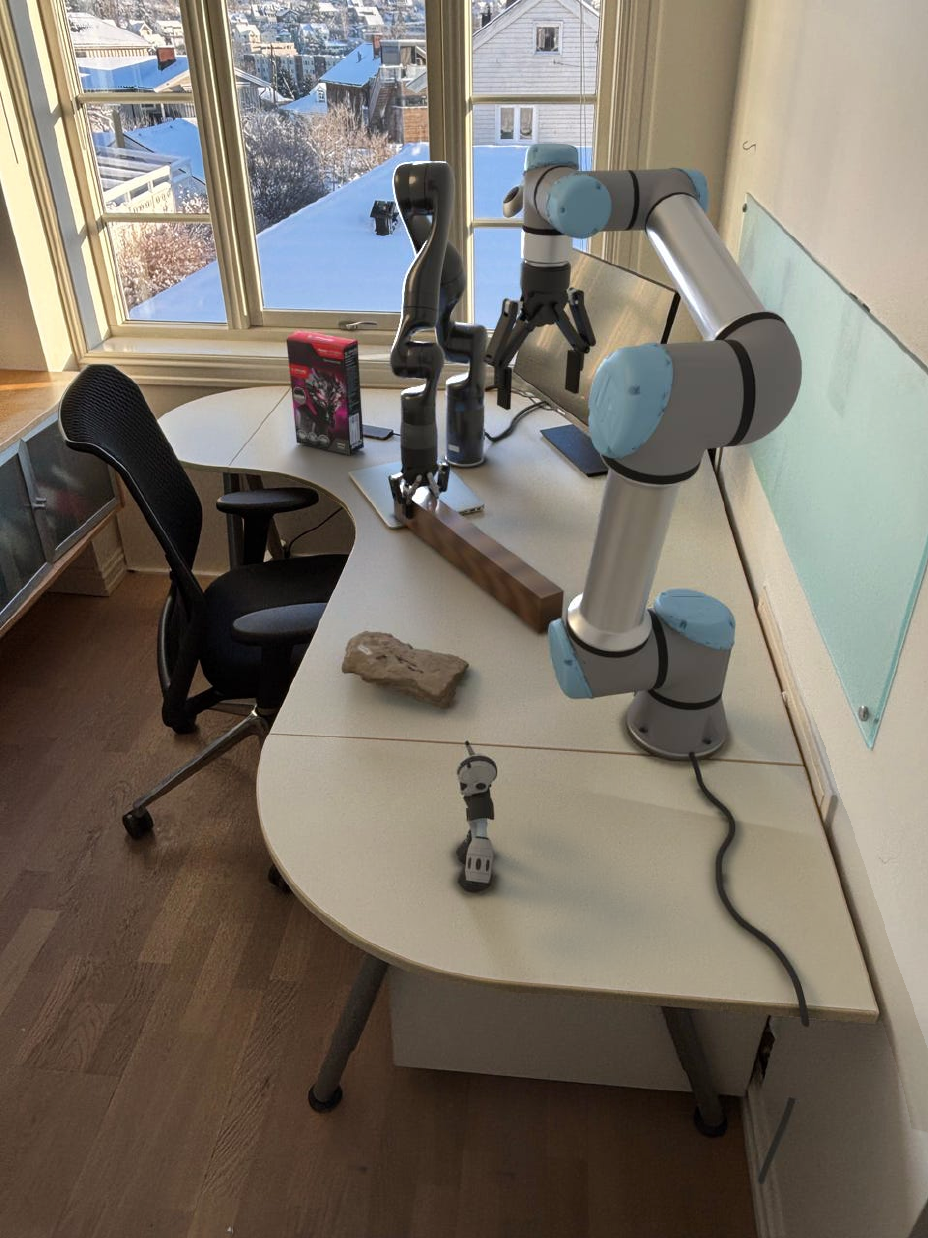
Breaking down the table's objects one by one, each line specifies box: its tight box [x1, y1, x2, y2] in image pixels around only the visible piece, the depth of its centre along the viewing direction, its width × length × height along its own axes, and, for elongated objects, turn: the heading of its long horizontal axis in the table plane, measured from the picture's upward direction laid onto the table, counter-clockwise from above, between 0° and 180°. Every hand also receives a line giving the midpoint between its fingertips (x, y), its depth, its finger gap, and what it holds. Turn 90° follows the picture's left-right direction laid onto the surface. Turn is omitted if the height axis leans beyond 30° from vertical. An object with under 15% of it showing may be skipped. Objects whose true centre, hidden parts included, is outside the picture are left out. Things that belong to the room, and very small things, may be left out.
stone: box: [341, 630, 470, 709], centre depth 151 cm, size 21×15×6 cm
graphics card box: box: [285, 330, 365, 456], centre depth 225 cm, size 17×7×27 cm, turn 62°
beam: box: [393, 482, 565, 634], centre depth 182 cm, size 53×5×7 cm, turn 33°
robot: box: [455, 740, 498, 893], centre depth 114 cm, size 20×5×20 cm, turn 3°
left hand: (420, 514), depth 196 cm, fingers open, 5 cm apart
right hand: (538, 399), depth 148 cm, fingers open, 13 cm apart
